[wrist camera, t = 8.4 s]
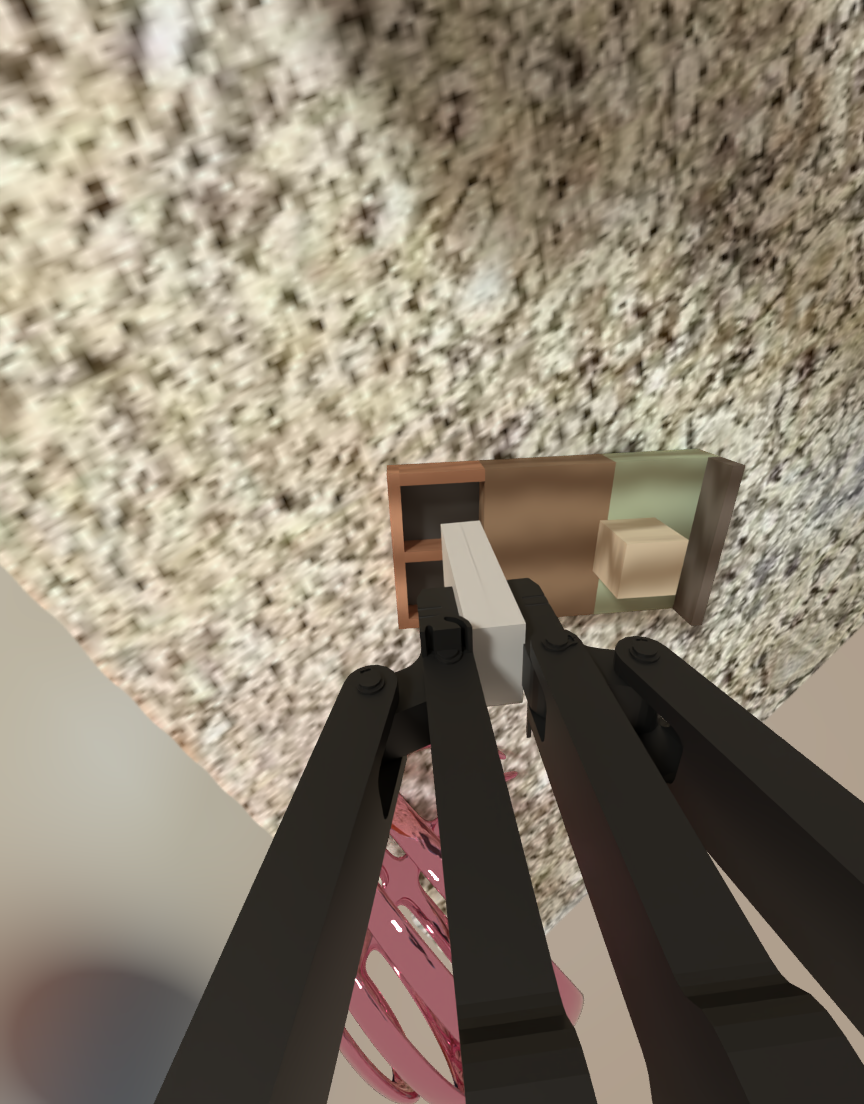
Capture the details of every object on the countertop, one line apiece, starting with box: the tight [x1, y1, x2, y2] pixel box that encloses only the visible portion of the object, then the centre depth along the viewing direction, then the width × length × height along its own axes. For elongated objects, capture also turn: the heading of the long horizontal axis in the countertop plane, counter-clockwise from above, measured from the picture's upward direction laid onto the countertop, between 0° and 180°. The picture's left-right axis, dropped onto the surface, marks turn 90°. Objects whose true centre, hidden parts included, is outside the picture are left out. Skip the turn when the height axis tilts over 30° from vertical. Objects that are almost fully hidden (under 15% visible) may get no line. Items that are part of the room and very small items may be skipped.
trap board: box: [387, 449, 745, 629], centre depth 40 cm, size 15×28×6 cm, turn 92°
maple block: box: [593, 517, 689, 599], centre depth 38 cm, size 5×5×5 cm
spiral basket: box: [339, 744, 584, 1104], centre depth 44 cm, size 28×28×27 cm
